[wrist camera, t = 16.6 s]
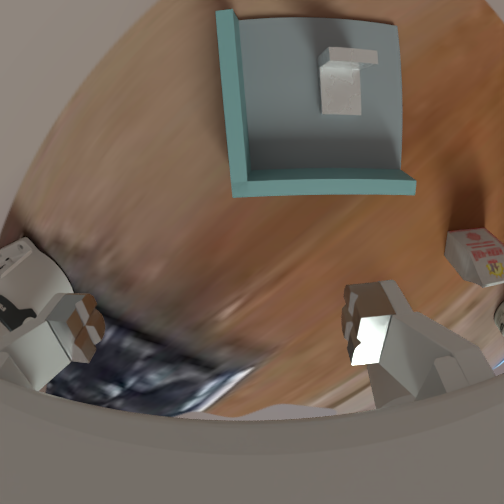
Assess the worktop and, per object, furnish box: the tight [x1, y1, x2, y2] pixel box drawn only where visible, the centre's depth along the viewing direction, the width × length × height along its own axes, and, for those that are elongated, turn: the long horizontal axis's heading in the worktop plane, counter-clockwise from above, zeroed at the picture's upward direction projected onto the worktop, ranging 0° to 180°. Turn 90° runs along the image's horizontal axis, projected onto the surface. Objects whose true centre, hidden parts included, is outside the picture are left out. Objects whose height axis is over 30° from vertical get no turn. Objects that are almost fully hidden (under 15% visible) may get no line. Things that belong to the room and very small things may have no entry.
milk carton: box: [444, 227, 504, 288], centre depth 29 cm, size 4×7×10 cm, turn 100°
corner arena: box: [215, 9, 416, 198], centre depth 25 cm, size 18×18×5 cm
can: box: [367, 362, 416, 409], centre depth 39 cm, size 8×8×12 cm
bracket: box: [317, 47, 378, 115], centre depth 23 cm, size 6×4×7 cm, turn 5°
